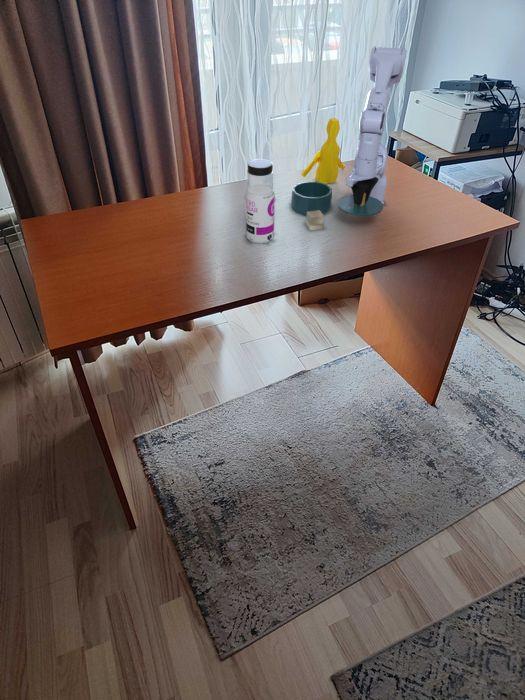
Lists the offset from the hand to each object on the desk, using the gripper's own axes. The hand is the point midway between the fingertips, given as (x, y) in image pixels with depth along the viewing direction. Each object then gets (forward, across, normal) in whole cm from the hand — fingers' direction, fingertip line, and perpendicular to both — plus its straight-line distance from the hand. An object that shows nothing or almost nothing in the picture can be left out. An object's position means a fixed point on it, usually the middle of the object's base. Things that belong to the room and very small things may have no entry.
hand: (360, 202), depth 142 cm
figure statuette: (+8, -18, -29) cm, 35 cm away
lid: (+1, 0, 0) cm, 1 cm away
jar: (+8, +8, -35) cm, 37 cm away
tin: (+8, 0, -19) cm, 20 cm away
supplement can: (+8, +27, -16) cm, 32 cm away
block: (+8, +10, -9) cm, 15 cm away
